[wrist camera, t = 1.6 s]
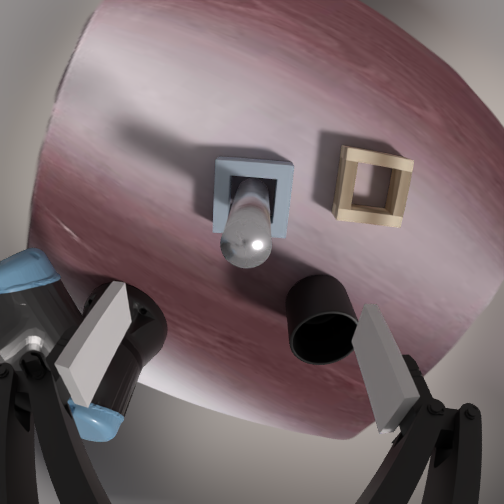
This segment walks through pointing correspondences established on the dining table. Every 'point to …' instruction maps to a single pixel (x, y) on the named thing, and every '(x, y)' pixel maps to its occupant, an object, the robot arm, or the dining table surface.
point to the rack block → (395, 193)
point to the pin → (248, 226)
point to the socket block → (253, 168)
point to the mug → (320, 320)
